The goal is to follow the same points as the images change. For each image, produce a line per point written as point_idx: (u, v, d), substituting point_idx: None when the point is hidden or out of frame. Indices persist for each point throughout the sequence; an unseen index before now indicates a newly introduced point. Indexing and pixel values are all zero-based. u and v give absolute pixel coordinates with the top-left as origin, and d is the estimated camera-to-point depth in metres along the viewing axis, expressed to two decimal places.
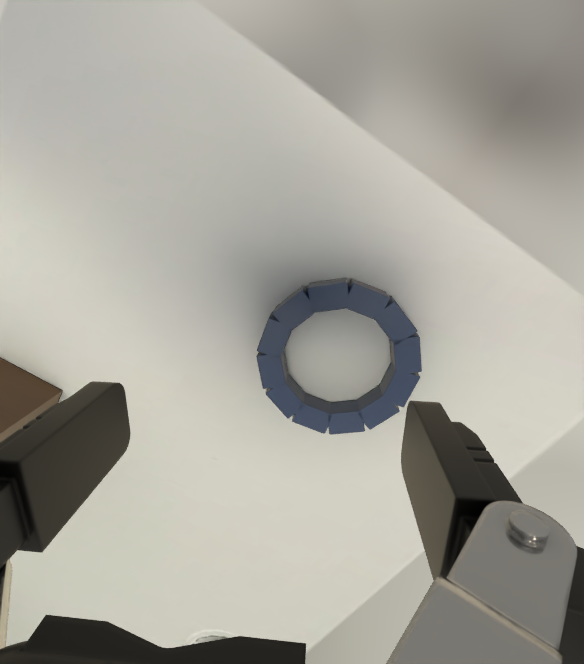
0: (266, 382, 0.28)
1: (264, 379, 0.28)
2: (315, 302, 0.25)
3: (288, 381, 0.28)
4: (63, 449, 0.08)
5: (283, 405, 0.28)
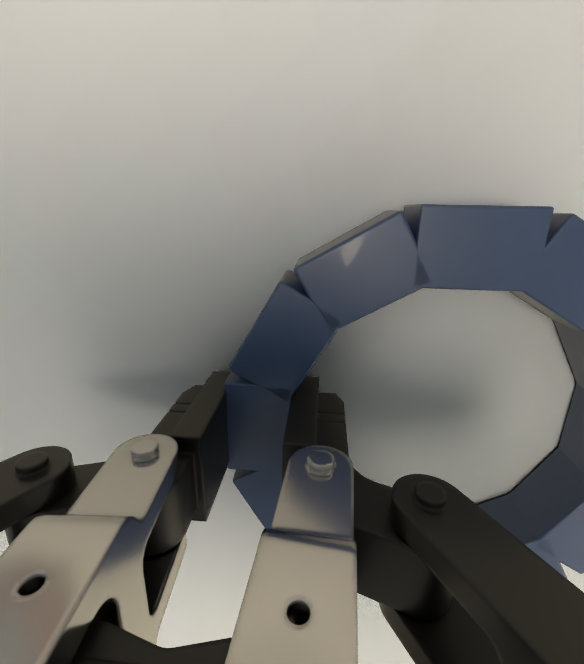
0: None
1: None
2: (270, 379, 0.09)
3: None
4: (216, 429, 0.09)
5: None
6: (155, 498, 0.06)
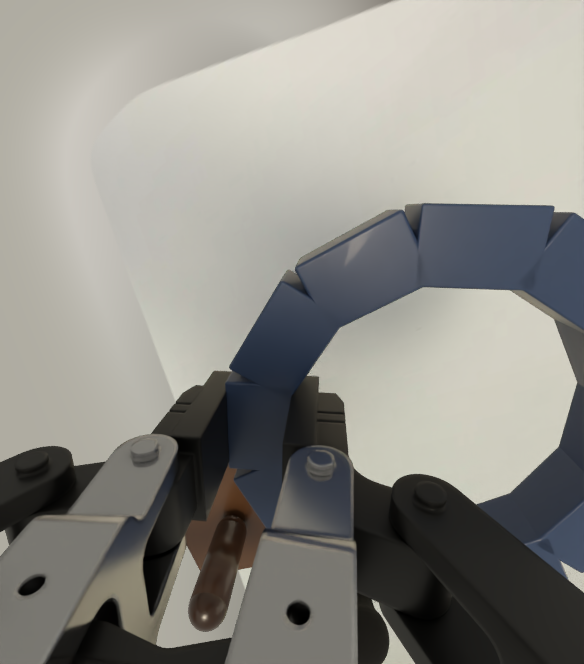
0: None
1: None
2: (271, 378, 0.09)
3: None
4: (216, 429, 0.09)
5: None
6: (155, 498, 0.06)
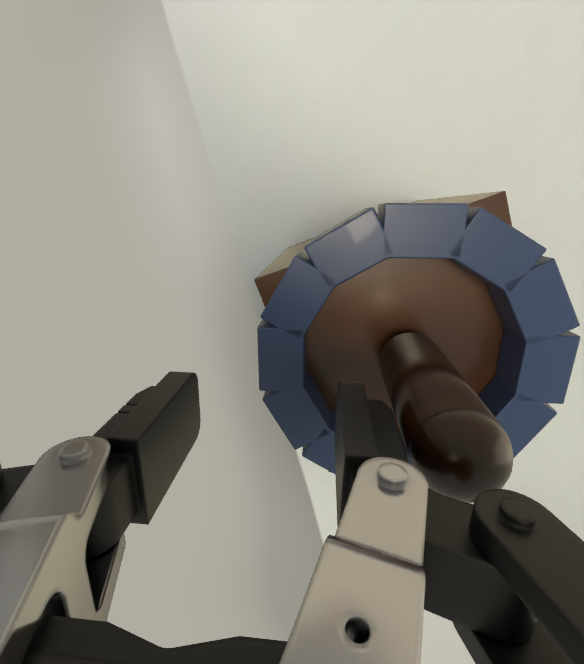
0: None
1: None
2: (289, 323, 0.14)
3: None
4: (161, 431, 0.09)
5: None
6: (92, 495, 0.06)
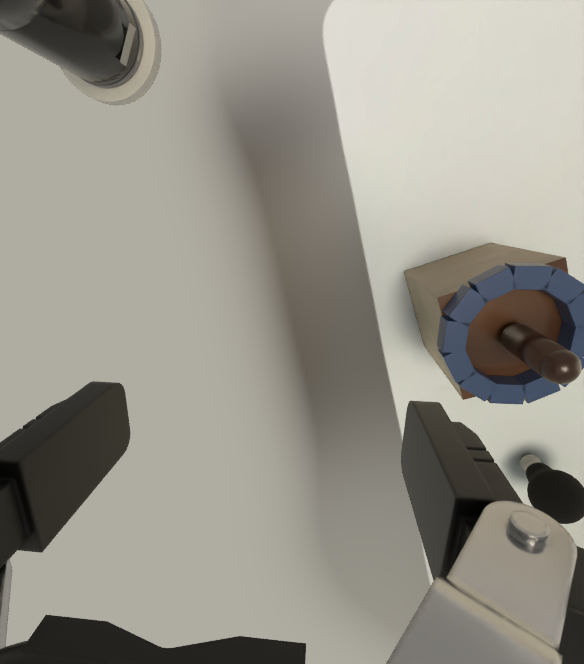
0: (483, 395, 0.31)
1: (479, 395, 0.31)
2: (463, 319, 0.29)
3: (496, 380, 0.31)
4: (63, 449, 0.08)
5: (510, 399, 0.31)
6: None
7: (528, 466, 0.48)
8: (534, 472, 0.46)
